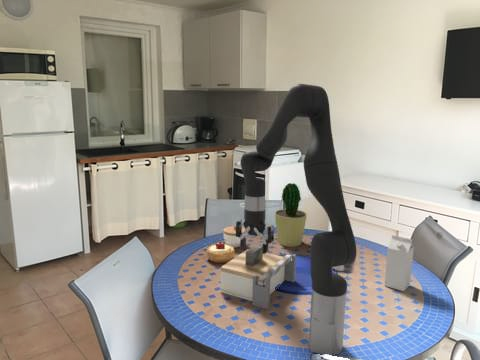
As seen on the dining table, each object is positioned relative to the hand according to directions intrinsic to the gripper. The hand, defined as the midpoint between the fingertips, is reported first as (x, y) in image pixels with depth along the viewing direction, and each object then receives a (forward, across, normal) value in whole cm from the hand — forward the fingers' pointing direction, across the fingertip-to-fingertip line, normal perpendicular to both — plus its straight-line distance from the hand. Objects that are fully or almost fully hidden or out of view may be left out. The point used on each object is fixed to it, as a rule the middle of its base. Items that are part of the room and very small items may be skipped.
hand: (254, 250), depth 142 cm
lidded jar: (+14, -27, +33) cm, 45 cm away
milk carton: (+14, +46, +28) cm, 56 cm away
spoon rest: (+14, +20, +41) cm, 48 cm away
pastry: (+14, -24, +16) cm, 32 cm away
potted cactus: (+14, -6, +50) cm, 52 cm away
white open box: (+14, +2, 0) cm, 14 cm away
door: (+6, 0, 0) cm, 6 cm away
